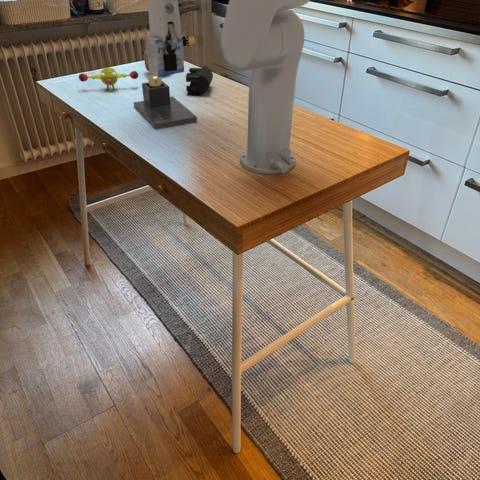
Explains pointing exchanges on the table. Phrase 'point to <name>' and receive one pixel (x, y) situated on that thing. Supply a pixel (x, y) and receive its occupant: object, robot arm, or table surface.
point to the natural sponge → (146, 59)
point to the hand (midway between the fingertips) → (166, 66)
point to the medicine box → (156, 56)
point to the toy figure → (108, 76)
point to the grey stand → (162, 108)
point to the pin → (154, 81)
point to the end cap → (198, 81)
